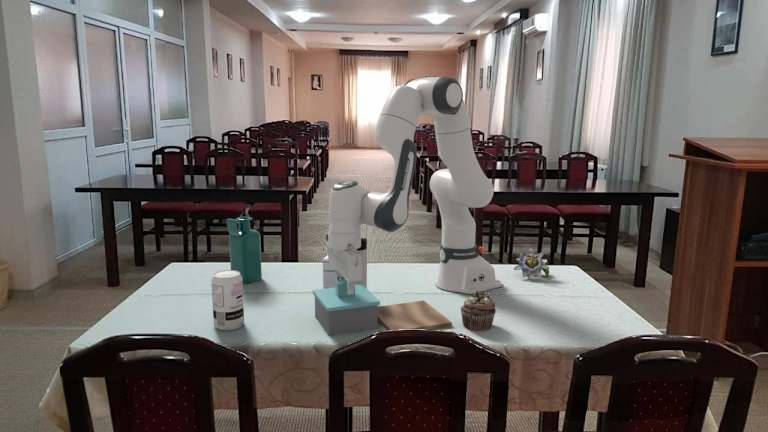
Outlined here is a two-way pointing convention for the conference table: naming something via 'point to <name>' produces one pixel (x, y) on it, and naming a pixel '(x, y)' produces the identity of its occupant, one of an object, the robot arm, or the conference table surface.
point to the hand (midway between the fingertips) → (344, 288)
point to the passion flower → (532, 264)
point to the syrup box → (329, 274)
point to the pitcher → (244, 249)
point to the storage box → (346, 319)
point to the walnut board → (411, 316)
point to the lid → (345, 297)
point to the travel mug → (363, 261)
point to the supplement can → (227, 300)
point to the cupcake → (478, 312)
